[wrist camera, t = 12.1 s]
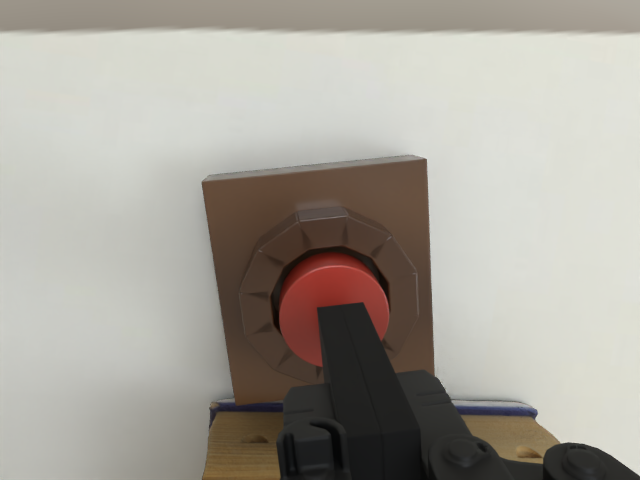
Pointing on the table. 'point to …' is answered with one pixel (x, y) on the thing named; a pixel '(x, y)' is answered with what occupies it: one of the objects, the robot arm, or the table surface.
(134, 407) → the table surface
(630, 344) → the table surface
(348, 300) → the stop button
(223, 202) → the button block
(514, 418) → the book
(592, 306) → the table surface
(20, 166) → the table surface
